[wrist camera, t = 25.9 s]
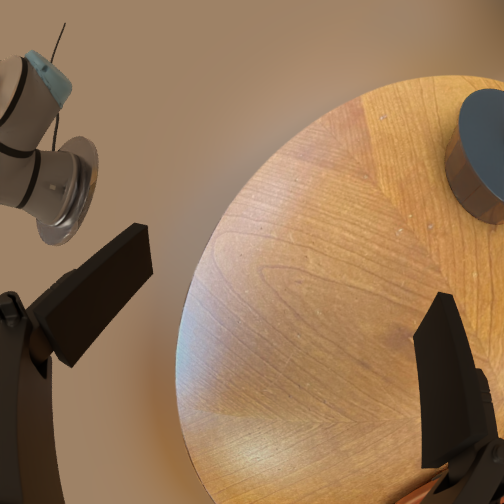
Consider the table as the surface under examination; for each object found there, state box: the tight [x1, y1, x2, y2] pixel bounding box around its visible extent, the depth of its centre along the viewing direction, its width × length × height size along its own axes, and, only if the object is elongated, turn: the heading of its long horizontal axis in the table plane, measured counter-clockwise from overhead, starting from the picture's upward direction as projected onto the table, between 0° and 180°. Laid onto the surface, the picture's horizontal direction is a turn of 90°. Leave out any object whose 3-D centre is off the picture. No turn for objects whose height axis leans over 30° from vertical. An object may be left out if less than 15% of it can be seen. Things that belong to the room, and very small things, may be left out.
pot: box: [445, 126, 504, 225], centre depth 19 cm, size 11×11×7 cm
